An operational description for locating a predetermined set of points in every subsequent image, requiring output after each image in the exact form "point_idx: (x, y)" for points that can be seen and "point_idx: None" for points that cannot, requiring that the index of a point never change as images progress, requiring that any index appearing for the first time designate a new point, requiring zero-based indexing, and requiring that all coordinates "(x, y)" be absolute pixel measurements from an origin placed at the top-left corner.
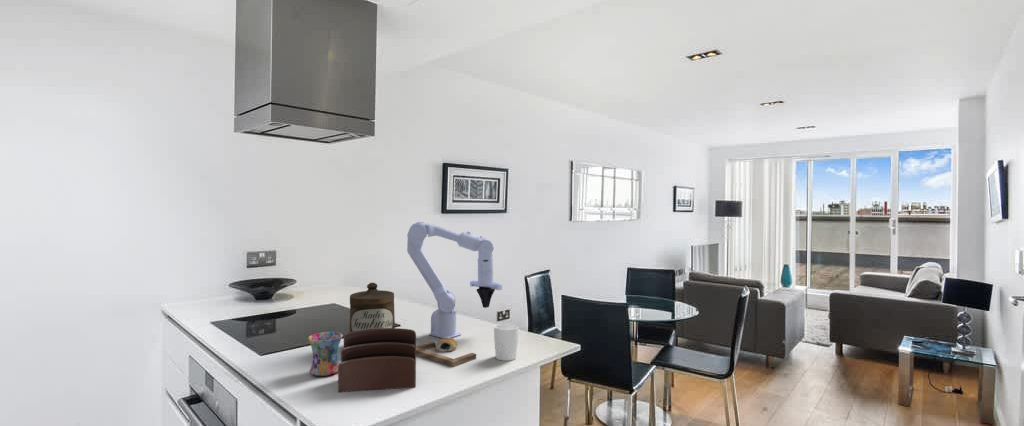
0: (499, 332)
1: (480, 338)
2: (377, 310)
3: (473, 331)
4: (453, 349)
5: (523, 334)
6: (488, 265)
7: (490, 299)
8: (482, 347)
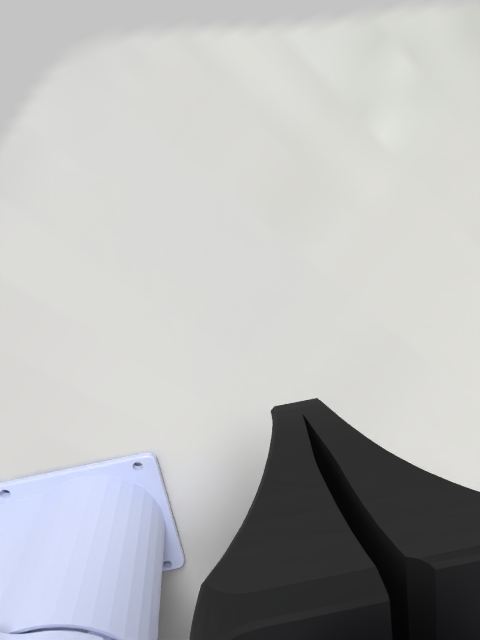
0: None
1: (299, 393)
2: None
3: (117, 335)
4: None
5: (454, 62)
6: None
7: (373, 446)
8: (442, 475)
